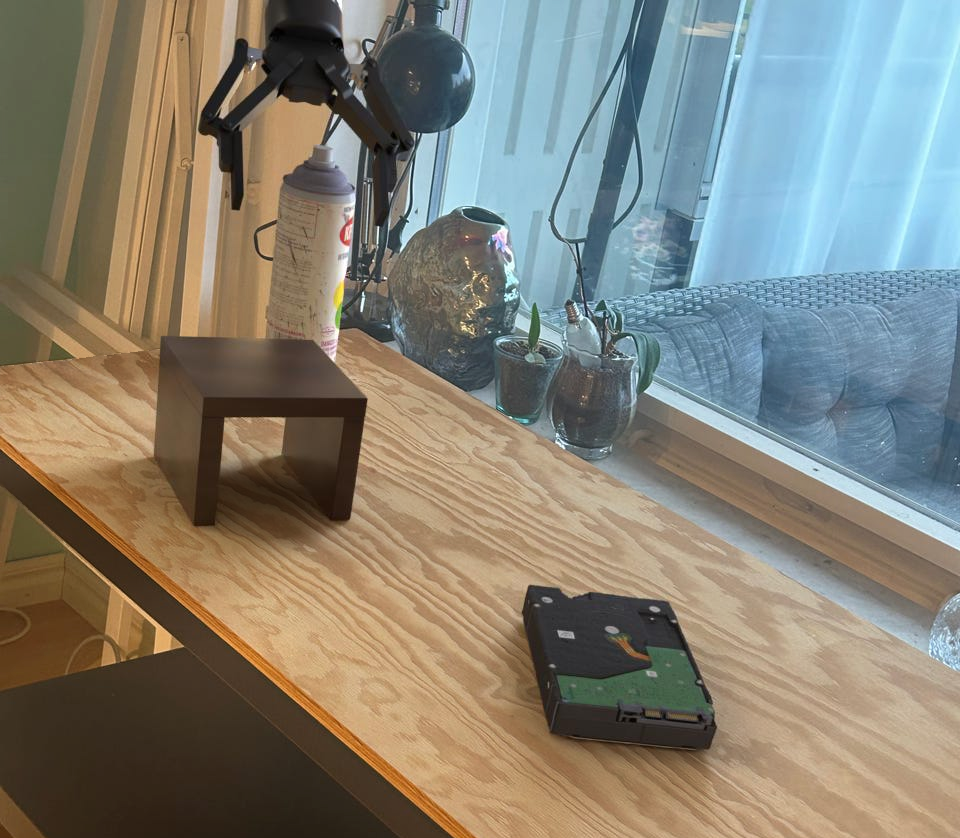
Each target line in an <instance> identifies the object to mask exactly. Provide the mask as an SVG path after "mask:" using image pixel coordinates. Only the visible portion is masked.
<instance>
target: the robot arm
mask: <svg viewBox="0 0 960 838" xmlns="http://www.w3.org/2000/svg"><path fill="white" fill-rule="evenodd" d="M263 8H264V14H263V15H264V49H259V48H255V47H253V46H252V47H251V46H249V42H248V41H247V39H246V38H243V37H240V38H239V37H238V38H237V39H236V40H235V42H234V47H233V52H232V56H231V60H230V64H228V67H226V70H225V71H224V73H223V75H222V76H221V78H220V80H219V81H218V83H217V85H216V86H215V88H214V89H213V91H212V92H211V94H210V96H209V98H208V100H207V101H206V103H205V105H204V107H203V108H202V110H201V112H200V116H199V121H198V125H197V131H198V133H199V135H201V136H204V137H207V136H210V137H213V138H214V139H216V146H217V147H218V149H217V150H218V167H219V170H220V172H221V173H229V174H230V204H231V205H230V209H231V211H238V212H240V211H241V208H242V204H243V199H244V196H245V187H244V186H245V185H244V184H245V182H244V181H245V180H244V147H243V145H244V144H243V142H244V141H243V131H244V130H245V129H246V128H247V127H248V126H249V125H251V123H253V121H254V120H256V119H257V118H258V117H259V116H260V115H261V114H262V113H263V112H264V111H266V109H267V108H268V107H270V106H274V104H275V103H276V102H277V101H278V100H280V99H281V98H282V97H284V98H285V99H288V103H297V104H299V103H307V104H308V105H311V106H318V107H321V106H322V105H323V104H325V105H326V106H327V108H328V109H329V110H330V111H331V112H332V113H333V114H334V115H336V116H337V115H338V116H339V117H340V118H341V119H342V121H344V123H345V124H346V125H347V126H348V128H350V129H351V131H353V133H354V134H355V135H356V136H357V137H358V138H359V140H360V141H361V142H362V143H363V144H364V146H365V147H366V148H367V149H368V150H369V151H370V152H371V153H372V155H373V156H374V159H373V162H372V164H371V173H372V174H371V175H372V193H373V195H372V196H373V211H374V212H373V213H374V214H373V215H374V226H375V227H380V228H384V225H385V223H386V220H387V219H388V216H389V214H390V211H391V209H390V194H393V193H394V190H395V189H396V185H397V183H398V180H399V179H398V178H399V177H398V161H400V162H401V163H402V162H403V163H404V162H405V163H406V162H407V161H408V160H409V158H410V156H411V154H412V152H413V150H414V147H415V145H416V141H415V139H414V137H413V135H412V133H411V132H410V130H409V128H408V127H407V124H406V123H405V121H404V120H403V119H404V118H402V116H401V114H400V112H399V110H398V108H397V107H396V105H395V103H394V101H393V99H392V98H391V95H390V94H389V93H388V91H387V89H386V87H385V85H384V83H383V82H382V80H381V75H380V69H379V65H378V62H377V60H376V59H374V58H372V57H370V58H367V59H366V60H365V62H364V63H362V64H361V63H350V62H349V59H347V57H346V53H345V36H344V34H345V33H344V17H343V16H344V15H343V0H263ZM256 66H260V68H261V70H262V71H263V72H264V74H265V75H266V77H265V79H264V80H263V81H262V82H261V83H260V84H259V85H258V86H257V87H255V89H253V90H252V91H251V92H250V93H249V94H248V95H247V96H245V98H244V99H242V101H240V102H239V103H238V104H237V105H236V106H235V107H234V108H233V109H232V110H231V111H230V112H228V113H227V114H226V115H225V116H224V117H223V118H222V115H223V113H224V111H225V110H226V108H227V106H228V104H229V103H230V101H231V100H232V98H233V96H234V95H235V93H236V91H237V90H238V88H239V86H240V85H241V82H242V80H243V77H244V74H249V73H251V72H252V71H253V70H254V68H255V67H256ZM348 79H349V80H352V81H353V82H354V84H355V86H356V89H357V90H358V91H361V93H362V96H363V98H364V100H365V101H364V102H365V103H366V104H367V106H368V108H369V110H370V111H369V110H368V109H367V107H366V106H364V104H363V103H362V102H361V101H360V99H359V98H357V96H356V95H355V94H354V92H353V88H352V86H351V85H350V83H349V82H348Z"/></svg>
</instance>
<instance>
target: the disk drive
mask: <svg viewBox="0 0 960 838" xmlns="http://www.w3.org/2000/svg"><path fill="white" fill-rule="evenodd" d="M521 616H522V622H523V626H524V632H525V635H526V639H527V643H528V648H529V652H530V657H531V661H532V666H533V669H534V671H535V676H536V681H537V686H538V690H539V696H540V699H541V704H542V709H543V712H544V717H545V720H546V724H547V727H548V732H549V734H551V735H556V736H557V735H560V736H562V737H569V738H572V739H578V740H588V741H601V742H609V743H610V742H611V743H620V744H629V745H638V746H647V747H657V748H658V747H659V748H668V749H670V748H671V749H680V750H689V751H691V750H692V751H698V750H701V749H702V750H705V751H707V750H710V749H711V746H712V744H713V740H714V737H715V735H716V732H717V730H718V726H717V723H716V721H715V719H716V718H715V716H716V710H715V709H714V707H713V704H714V702H713V698H712V696H711V693H710V691H709V690H708V688H707V686H706V683H705V682H704V679H703V676H702V674H701V671H700V670H699V667H698V664H697V662H696V661H695V657H694V656H693V655H694V654H693V653H692V650H691V649H690V647H689V644H688V641H687V639H686V637H685V635H684V632H683V630H682V628H681V625H680V623H679V620H678V616H677V615H676V613H675V611H674V609H673V607H672V605H671V603H670V601H668V600H662V599H653V598H646V597H645V598H643V597H635V596H634V597H633V596H627V595H619V594H614V593H604V592H595V591H588V592H586V593H583V594H579V595H575V596H572V597H569V595H567V594H566V593H564V592H563V591H562V589H561V588H560V587H556V586H555V587H554V586H546V585H545V586H544V585H536V584H528V586H527V587H526V592H525V597H524V601H523V606H522V610H521Z"/></svg>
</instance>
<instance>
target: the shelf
mask: <svg viewBox="0 0 960 838" xmlns="http://www.w3.org/2000/svg"><path fill="white" fill-rule="evenodd" d="M159 345H160V346H159V359H158V374H157V375H158V377H157V395H156V409H155V410H156V411H155V425H154V426H155V428H154V443H153V444H154V445H153V457H154V459H155V461H156V462H157V464H158V466H159V468H160V470H161V471H162V474H163V475H164V476H165V478H166V480H167V482H168V484H169V486H170V487H171V489H172V490H173V492H174V494H175V496H176V498H177V499H178V500H179V503H180V504H181V506H182V507H183V509H184V512H185V513H186V515H187V517H188V518H189V520H190V522H191V524H192V525H193V527H194V526H195V527H196V526H200V527H201V526H216V521H217V513H218V512H217V511H218V501H219V500H218V499H219V487H220V476H221V467H222V466H221V465H222V455H223V454H222V453H223V442H224V432H225V421H226V418H229V419H230V418H233V419H235V418H239V419H240V418H243V419H245V418H284V419H285V420H284V427H283V437H282V445H281V456H282V457H283V459H284V460H285V461H286V462H287V464H288V465H289V467H290V468H291V469H292V470H293V472H294V473H295V474H296V476H297V477H298V478H299V480H300V481H301V482H302V483H303V485H304V486H305V488H306V489H307V490H308V492H309V493H310V494H311V495H312V497H313V498H314V500H315V501H316V503H317V504H318V506H320V508H321V509H322V510H323V512H324V513H325V514H326V516H327V517H328V518H329V520H330V521H346V520H351V517H352V511H353V503H354V496H355V490H356V482H357V475H358V469H359V468H358V467H359V461H360V455H361V447H362V440H363V433H364V427H365V420H366V413H367V407H368V400H369V399H368V397H367V396H366V394H365V393H364V392H363V391H362V390H361V389H360V388H359V387H358V385H356V383H354V381H352V380H351V378H350V377H349V376H348V375H347V374H346V372H344V371H343V370H342V369H341V368H340V367H339V366H338V365H337V363H336V362H335V363H334V362H333V361H332V359H331V358H330V357H329V356H328V355H327V354H326V353H325V352H324V351H323V350H322V349H321V348H320V347H319V346H318V345H317V343H316V342H315V341H314V340H300V339H265V338H258V337H257V338H256V337H226V336H225V337H224V336H223V337H221V336H220V337H218V336H189V335H188V336H184V335H181V336H180V335H161V336H160V344H159Z"/></svg>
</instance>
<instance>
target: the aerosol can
mask: <svg viewBox="0 0 960 838" xmlns="http://www.w3.org/2000/svg"><path fill="white" fill-rule="evenodd" d="M312 148H313V149H312V154H311V156H308V157H307V159H305V160H303V163H301V164H298V165H296V166H295V168H294V169H293V170H292V173H290V172H289V173H287V174H284V175H283V176H282V181H283V182H282V183H281V186H280V188H279V195H278V204H277V205H278V206H277V215H276V216H277V217H276V227H275V236H274V245H273V256H272V257H273V258H272V267H271V276H270V287H269V296H268V305H267V306H268V307H267V317H266V326H265V338H264V339H300V340H314V341H315V342H316V343H317V345H318V346H319V347H320V348H321V349H322V350H323V351H324V352H325V353H326V354H327V355H328V356H329V357H330V358H331V359H332V361H333V362H334V363H335V364H336V355H337V349H338V341H339V332H340V327H341V326H340V324H341V319H342V318H341V316H342V310H343V301H344V295H345V293H344V292H345V287H346V279H347V278H346V277H347V271H348V262H349V255H350V254H349V253H350V246H351V240H352V239H351V238H352V230H353V223H354V216H355V215H354V214H355V206H356V195H355V192H356V187H355V186H354V185H353V184H352V183H350V182H348V178H347V175H346V174H345V173H344V172H343V171H342V170H340V166H339V165H337V164H336V161H334V160H333V156H334V155H333V152H334V148H333V147H331V146H328V145H324V144H323V145H322V144H314V145H313V147H312Z"/></svg>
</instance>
